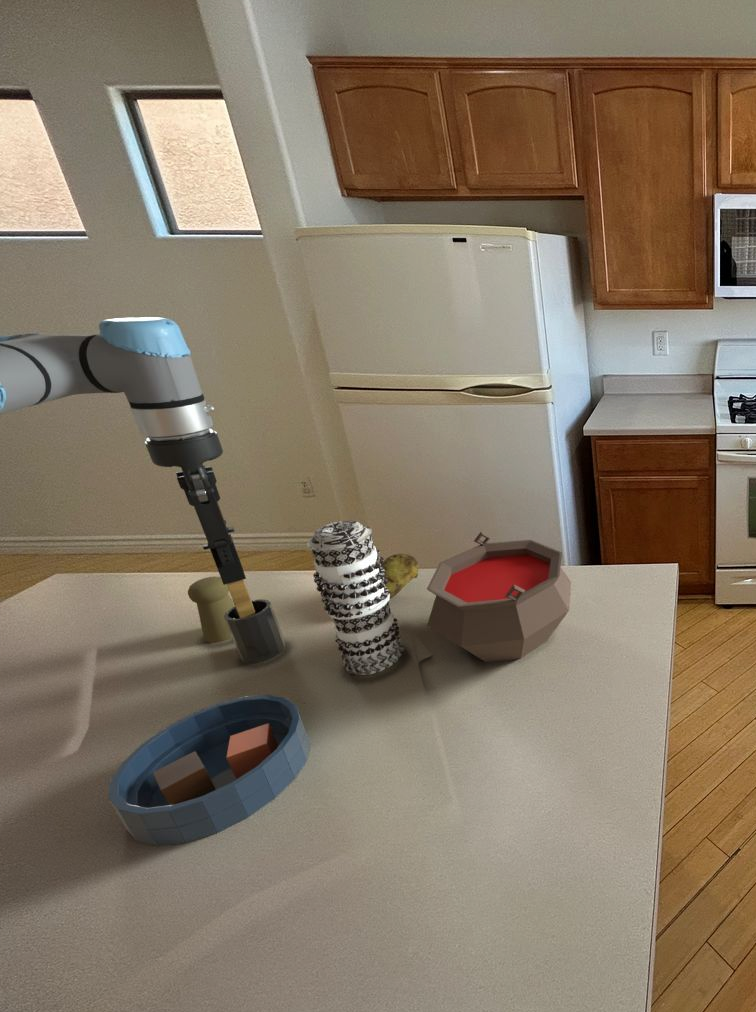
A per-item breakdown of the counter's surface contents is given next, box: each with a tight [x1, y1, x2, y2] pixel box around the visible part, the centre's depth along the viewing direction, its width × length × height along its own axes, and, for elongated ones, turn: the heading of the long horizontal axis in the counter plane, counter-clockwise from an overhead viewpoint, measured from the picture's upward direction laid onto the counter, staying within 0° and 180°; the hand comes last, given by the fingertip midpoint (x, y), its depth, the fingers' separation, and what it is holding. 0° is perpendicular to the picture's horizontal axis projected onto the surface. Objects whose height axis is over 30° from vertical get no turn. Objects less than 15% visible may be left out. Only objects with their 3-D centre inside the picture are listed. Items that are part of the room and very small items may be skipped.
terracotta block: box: [226, 723, 278, 779], centre depth 71 cm, size 4×4×4 cm
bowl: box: [108, 694, 311, 847], centre depth 69 cm, size 18×18×6 cm
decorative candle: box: [306, 520, 405, 676], centre depth 86 cm, size 9×9×25 cm
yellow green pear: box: [381, 553, 419, 600], centre depth 106 cm, size 8×13×8 cm, turn 139°
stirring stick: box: [227, 579, 256, 618], centre depth 87 cm, size 2×2×20 cm
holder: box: [224, 599, 286, 665], centre depth 91 cm, size 6×6×9 cm
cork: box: [187, 576, 235, 644], centre depth 95 cm, size 6×6×11 cm
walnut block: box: [152, 751, 216, 806], centre depth 67 cm, size 4×4×4 cm
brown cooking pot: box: [426, 530, 572, 663], centre depth 95 cm, size 24×24×16 cm
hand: (233, 577), depth 86 cm, fingers closed on stirring stick, 2 cm apart
